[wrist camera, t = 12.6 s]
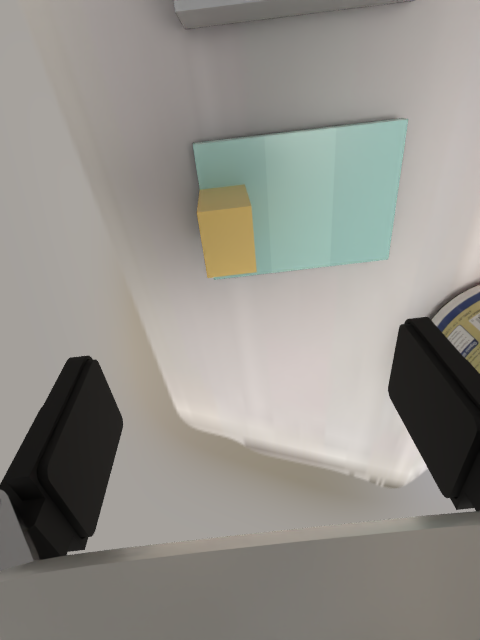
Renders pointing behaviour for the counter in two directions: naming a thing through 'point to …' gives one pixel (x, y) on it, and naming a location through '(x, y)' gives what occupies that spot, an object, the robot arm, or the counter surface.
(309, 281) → the counter surface
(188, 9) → the tub
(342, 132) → the lid
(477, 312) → the supplement tub
